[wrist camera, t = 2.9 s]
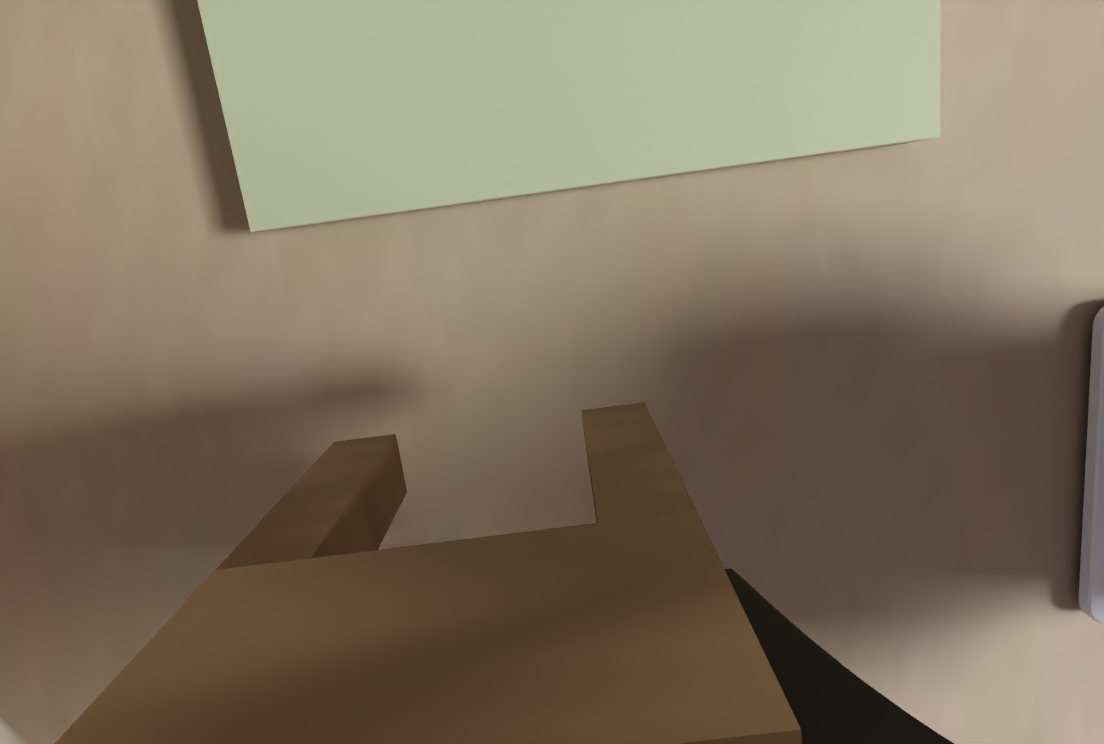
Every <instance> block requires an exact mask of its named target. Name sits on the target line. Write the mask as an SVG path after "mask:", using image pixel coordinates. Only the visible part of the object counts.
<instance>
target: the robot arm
mask: <svg viewBox="0 0 1104 744" xmlns="http://www.w3.org/2000/svg"><path fill="white" fill-rule="evenodd" d="M724 570H725V572H726V574H727V576H728V578H729V580H730V582H731V584H732V587H733V589H734V591H735V593H736V595H737V597H738V599H739V601H740V603H741V605H742V607H743V609H744V612H745V614H746V616H747V618H748V620H749V622H750V624H751V626H752V628H753V630H754V632H755V634H756V637H757V639H758V641H759V643H760V645H761V647H762V649H763V651H764V653H765V655H766V657H767V659H768V662H769V664H770V666H771V668H772V670H773V672H774V674H775V676H776V678H777V680H778V682H779V684H780V687H781V689H782V691H783V693H784V695H785V697H786V699H787V701H788V703H789V705H790V707H791V709H792V712H793V714H794V716H795V718H796V720H797V722H798V724H799V726H800V728H801V736H802V744H954V743H952V742H951V741H949V740H947V739H946V738H944V737H943V736H941V735H939V734H938V733H936V732H935V731H933V730H932V729H930V728H929V727H927V726H926V725H924V724H923V723H921V722H920V721H918V720H917V719H915V718H914V717H912V716H911V715H910V714H908V713H907V712H905V711H904V710H902V709H901V708H900V707H898V706H897V705H895V704H894V703H893V702H891V701H890V700H889V699H887V698H886V697H884V696H883V695H882V694H880V693H879V692H877V691H876V690H875V689H873V688H872V687H871V686H869V685H868V684H866V683H865V682H864V681H862V680H861V679H860V678H858V677H857V676H856V675H855V674H853V673H852V672H851V671H849V670H848V669H847V668H845V667H844V666H843V665H842V664H841V663H839V662H838V661H837V660H836V659H834V658H833V657H832V656H831V655H830V654H828V653H827V652H826V651H825V650H823V649H822V648H821V647H820V646H819V645H817V644H816V643H815V642H814V641H813V640H811V639H810V638H809V637H808V636H806V635H805V634H804V633H803V632H802V631H801V630H799V629H798V628H797V627H796V626H795V625H794V624H793V623H791V622H790V621H789V620H788V619H787V618H786V617H785V616H784V615H782V614H781V613H780V612H779V611H778V610H777V609H776V608H775V607H773V606H772V605H771V604H770V603H769V602H768V601H767V600H766V599H765V598H764V597H762V596H761V595H760V594H759V593H758V592H757V591H756V590H755V589H754V588H753V587H752V586H751V585H750V584H748V583H747V582H746V581H745V580H744V579H743V578H742V577H741V576H740V575H738V574H737V573H736V572H735V571H734V570H732V569H724ZM1079 605H1080V608H1081V609H1082V610H1083V612H1084V613H1085V614H1087V615H1088V616H1089V617H1090V618H1092V619H1093V620H1095V621H1097V622H1099V623H1104V307H1102V308H1101V309H1100V310H1099V312H1098V313H1097V315H1096V316H1095V319H1094V323H1093V332H1092V351H1091V371H1090V390H1089V409H1088V429H1087V448H1086V467H1085V487H1084V506H1083V525H1082V545H1081V564H1080V583H1079Z"/></svg>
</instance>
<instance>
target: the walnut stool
mask: <svg viewBox="0 0 1104 744" xmlns="http://www.w3.org/2000/svg"><path fill="white" fill-rule="evenodd" d="M582 418H583V426H584V434H585V441H586V449H587V457H588V465H589V472H590V479H591V486H592V493H593V500H594V507H595V513H596V520H597V523H595V524H587V525H579V526H571V527H563V528H555V529H546V530H538V531H530V532H522V533H514V534H506V535H497V536H489V537H481V538H473V539H465V540H457V541H448V542H440V543H432V544H424V545H416V546H408V547H399V548H391V549H383V550H378V548H379V546H380V544H381V542H382V540H383V538H384V536H385V534H386V532H387V530H388V528H389V526H390V524H391V522H392V520H393V518H394V516H395V514H396V512H397V510H398V508H399V506H400V504H401V503H402V501H403V499H404V497H405V495H406V493H407V490H406V485H405V480H404V475H403V469H402V464H401V459H400V454H399V449H398V444H397V439H396V434H394V435H386V436H378V437H370V438H362V439H354V440H347V441H339V442H334V443H333V444H332V445H331V446H330V447H329V448H328V449H327V450H326V452H325V453H324V454H323V455H322V456H321V457H320V458H319V459H318V460H317V461H316V462H315V463H314V465H313V466H312V467H311V468H310V469H309V470H308V471H307V472H306V473H305V474H304V475H303V476H302V477H301V479H300V480H299V481H298V482H297V483H296V484H295V485H294V486H293V487H292V488H291V489H290V490H289V492H288V493H287V494H286V495H285V496H284V497H283V498H282V499H281V500H280V501H279V502H278V503H277V504H276V506H275V507H274V508H273V509H272V510H271V511H270V512H269V513H268V514H267V515H266V516H265V517H264V518H263V520H262V521H261V522H260V523H259V524H258V525H257V526H256V527H255V528H254V529H253V530H252V531H251V533H250V534H249V535H248V536H247V537H246V538H245V539H244V540H243V541H242V542H241V543H240V544H239V545H238V547H237V548H236V549H235V550H234V551H233V552H232V553H231V554H230V555H229V556H228V557H227V558H226V559H225V561H224V562H223V563H222V564H221V565H220V566H219V567H218V568H217V569H216V570H215V571H214V572H213V574H212V575H211V576H210V577H209V578H208V579H207V580H206V581H205V582H204V583H203V584H202V585H201V586H200V588H199V589H198V590H197V591H196V592H195V593H194V594H193V595H192V596H191V597H190V598H189V599H188V601H187V602H186V603H185V604H184V605H183V606H182V607H181V608H180V609H179V610H178V611H177V612H176V613H175V615H174V616H173V617H172V618H171V619H170V620H169V621H168V622H167V623H166V624H165V625H164V626H163V627H162V629H161V630H160V631H159V632H158V633H157V634H156V635H155V636H154V637H153V638H152V639H151V640H150V642H149V643H148V644H147V645H146V646H145V647H144V648H143V649H142V650H141V651H140V652H139V653H138V654H137V656H136V657H135V658H134V659H133V660H132V661H131V662H130V663H129V664H128V665H127V666H126V667H125V669H124V670H123V671H122V672H121V673H120V674H119V675H118V676H117V677H116V678H115V679H114V680H113V681H112V683H111V684H110V685H109V686H108V687H107V688H106V689H105V690H104V691H103V692H102V693H101V694H100V695H99V697H98V698H97V699H96V700H95V701H94V702H93V703H92V704H91V705H90V706H89V707H88V708H87V710H86V711H85V712H84V713H83V714H82V715H81V716H80V717H79V718H78V719H77V720H76V721H75V722H74V724H73V725H72V726H71V727H70V728H69V729H68V730H67V731H66V732H65V733H64V734H63V735H62V737H61V738H60V739H59V740H58V741H57V742H56V743H55V744H802V736H801V728H800V726H799V724H798V722H797V720H796V718H795V716H794V714H793V712H792V709H791V707H790V705H789V703H788V701H787V699H786V697H785V695H784V693H783V691H782V689H781V687H780V684H779V682H778V680H777V678H776V676H775V674H774V672H773V670H772V668H771V666H770V664H769V662H768V659H767V657H766V655H765V653H764V651H763V649H762V647H761V645H760V643H759V641H758V639H757V637H756V634H755V632H754V630H753V628H752V626H751V624H750V622H749V620H748V618H747V616H746V614H745V612H744V609H743V607H742V605H741V603H740V601H739V599H738V597H737V595H736V593H735V591H734V589H733V587H732V584H731V582H730V580H729V578H728V576H727V574H726V572H725V570H724V568H723V566H722V564H721V562H720V559H719V557H718V555H717V553H716V551H715V549H714V547H713V545H712V543H711V541H710V539H709V537H708V534H707V532H706V530H705V528H704V526H703V524H702V522H701V520H700V518H699V516H698V514H697V512H696V509H695V507H694V505H693V503H692V501H691V499H690V497H689V495H688V493H687V491H686V489H685V487H684V484H683V482H682V480H681V478H680V476H679V474H678V472H677V470H676V468H675V466H674V464H673V462H672V459H671V457H670V455H669V453H668V451H667V449H666V447H665V445H664V443H663V441H662V439H661V437H660V434H659V432H658V430H657V428H656V426H655V424H654V422H653V420H652V418H651V416H650V414H649V412H648V409H647V407H646V405H645V403H637V404H629V405H621V406H613V407H606V408H598V409H590V410H582Z"/></svg>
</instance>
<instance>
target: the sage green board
mask: <svg viewBox="0 0 1104 744" xmlns="http://www.w3.org/2000/svg"><path fill="white" fill-rule="evenodd" d="M197 2H198V6H199V10H200V15H201V19H202V23H203V28H204V32H205V36H206V41H207V45H208V49H209V54H210V58H211V62H212V67H213V71H214V75H215V80H216V84H217V88H218V93H219V97H220V101H221V106H222V110H223V114H224V119H225V123H226V127H227V132H228V136H229V140H230V145H231V149H232V153H233V158H234V162H235V166H236V171H237V175H238V179H239V184H240V188H241V193H242V197H243V201H244V206H245V210H246V214H247V219H248V223H249V227H250V232H257V231H269V230H281V229H288V228H295V227H302V226H310V225H317V224H324V223H332V222H339V221H346V220H353V219H361V218H368V217H375V216H382V215H390V214H397V213H404V212H411V211H419V210H426V209H433V208H440V207H448V206H455V205H462V204H469V203H477V202H484V201H491V200H498V199H506V198H513V197H520V196H527V195H535V194H542V193H549V192H556V191H564V190H571V189H578V188H585V187H593V186H600V185H607V184H615V183H622V182H629V181H636V180H644V179H651V178H658V177H665V176H673V175H680V174H687V173H694V172H702V171H709V170H716V169H723V168H731V167H738V166H745V165H752V164H760V163H767V162H774V161H781V160H789V159H796V158H803V157H810V156H818V155H825V154H832V153H839V152H847V151H854V150H861V149H869V148H876V147H883V146H890V145H898V144H905V143H910V142H915V141H921V140H926V139H932V138H937V137H940V0H197Z"/></svg>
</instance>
